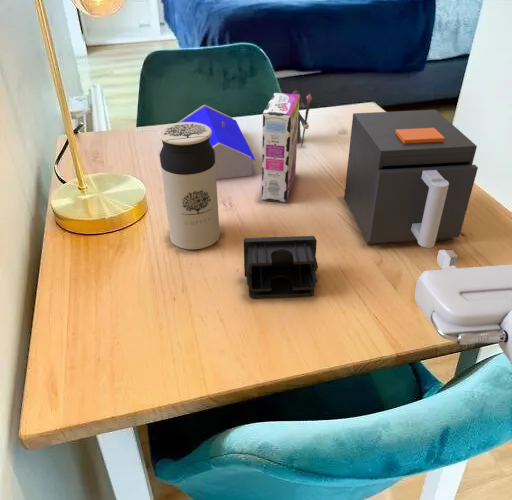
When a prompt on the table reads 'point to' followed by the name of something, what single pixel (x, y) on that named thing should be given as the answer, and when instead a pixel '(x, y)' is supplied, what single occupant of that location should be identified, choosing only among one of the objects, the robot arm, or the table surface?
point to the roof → (225, 142)
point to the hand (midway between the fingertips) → (483, 251)
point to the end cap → (280, 266)
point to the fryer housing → (397, 153)
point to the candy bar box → (279, 146)
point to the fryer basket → (420, 202)
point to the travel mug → (190, 184)
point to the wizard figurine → (300, 118)
